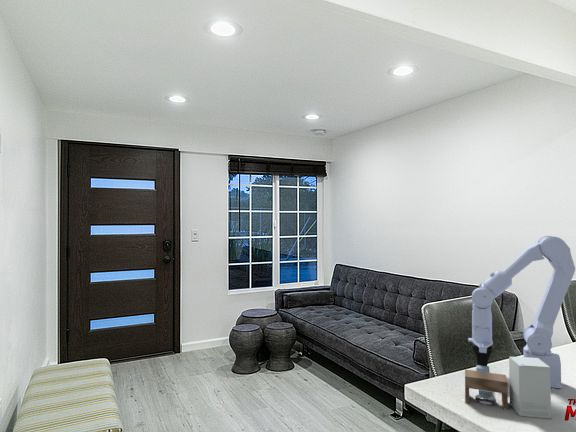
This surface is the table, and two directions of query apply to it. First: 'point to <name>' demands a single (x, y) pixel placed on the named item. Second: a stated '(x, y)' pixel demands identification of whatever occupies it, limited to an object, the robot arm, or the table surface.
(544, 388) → the supplement box
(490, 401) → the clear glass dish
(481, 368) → the pale blue mallet
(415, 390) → the table surface
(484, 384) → the brown wooden arch
